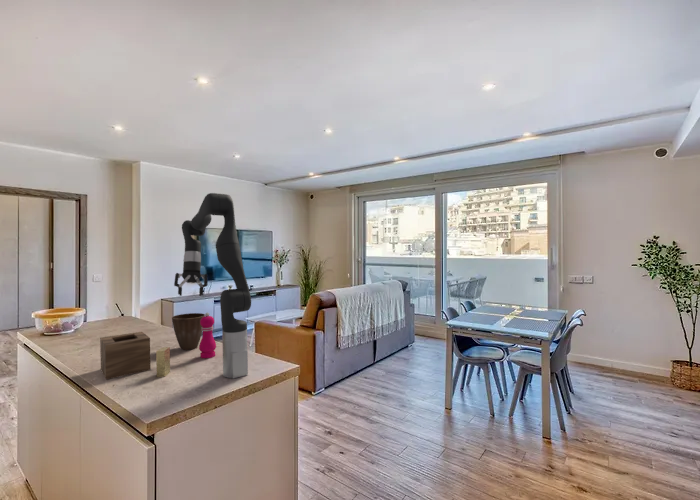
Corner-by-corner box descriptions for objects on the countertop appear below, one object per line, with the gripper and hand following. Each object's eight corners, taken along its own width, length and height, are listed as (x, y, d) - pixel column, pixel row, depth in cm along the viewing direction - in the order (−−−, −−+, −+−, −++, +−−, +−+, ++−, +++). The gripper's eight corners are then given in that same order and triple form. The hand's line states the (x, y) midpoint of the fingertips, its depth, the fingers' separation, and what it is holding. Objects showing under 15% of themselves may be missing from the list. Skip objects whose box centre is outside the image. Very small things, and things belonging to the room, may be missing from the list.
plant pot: (174, 345, 176) (173, 314, 176) (206, 342, 182) (205, 312, 182) (170, 354, 162) (169, 320, 162) (204, 350, 168) (204, 317, 168)
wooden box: (150, 369, 142) (150, 338, 142) (105, 379, 132) (105, 345, 132) (142, 360, 153) (141, 331, 153) (100, 369, 143) (100, 337, 143)
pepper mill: (210, 359, 154) (209, 314, 154) (195, 358, 156) (195, 313, 155) (219, 354, 161) (218, 311, 161) (205, 353, 163) (204, 310, 163)
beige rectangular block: (164, 376, 134) (164, 350, 134) (156, 377, 134) (156, 351, 134) (170, 372, 139) (169, 347, 139) (162, 372, 139) (161, 347, 139)
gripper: (176, 259, 159) (174, 295, 156) (209, 261, 167) (208, 295, 164) (174, 262, 166) (172, 296, 163) (206, 263, 173) (205, 296, 170)
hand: (190, 295), depth 163 cm, fingers open, 8 cm apart
